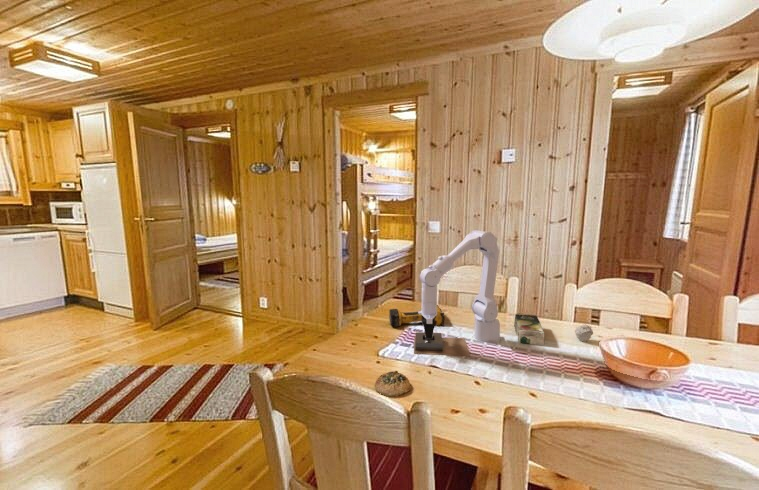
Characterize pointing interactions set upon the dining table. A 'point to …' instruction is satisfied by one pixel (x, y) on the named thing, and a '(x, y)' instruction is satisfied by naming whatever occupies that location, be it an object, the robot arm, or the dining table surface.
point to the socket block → (428, 342)
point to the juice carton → (529, 329)
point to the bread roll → (392, 384)
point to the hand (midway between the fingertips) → (428, 335)
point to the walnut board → (449, 348)
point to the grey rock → (583, 332)
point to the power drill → (412, 317)
